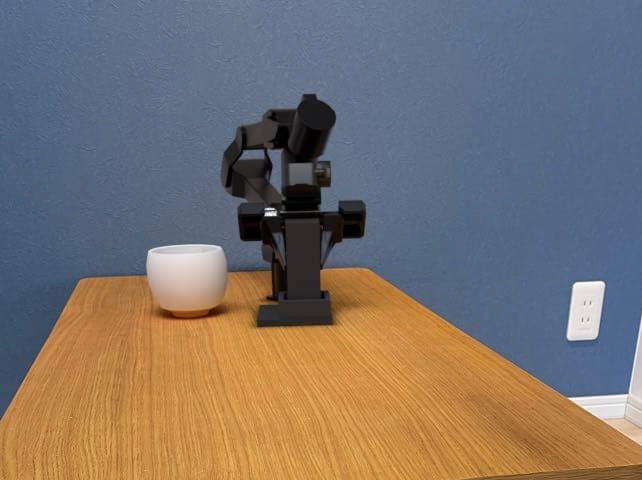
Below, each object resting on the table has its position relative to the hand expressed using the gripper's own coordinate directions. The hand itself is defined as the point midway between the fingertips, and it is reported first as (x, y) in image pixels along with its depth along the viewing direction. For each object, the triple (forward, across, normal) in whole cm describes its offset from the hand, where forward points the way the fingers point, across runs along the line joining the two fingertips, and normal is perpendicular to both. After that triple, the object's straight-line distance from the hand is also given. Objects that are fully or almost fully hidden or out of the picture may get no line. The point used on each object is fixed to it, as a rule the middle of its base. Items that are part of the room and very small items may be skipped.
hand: (303, 268), depth 124 cm
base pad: (+3, -2, +7) cm, 8 cm away
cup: (0, -18, +11) cm, 21 cm away
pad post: (+4, 0, +6) cm, 7 cm away
